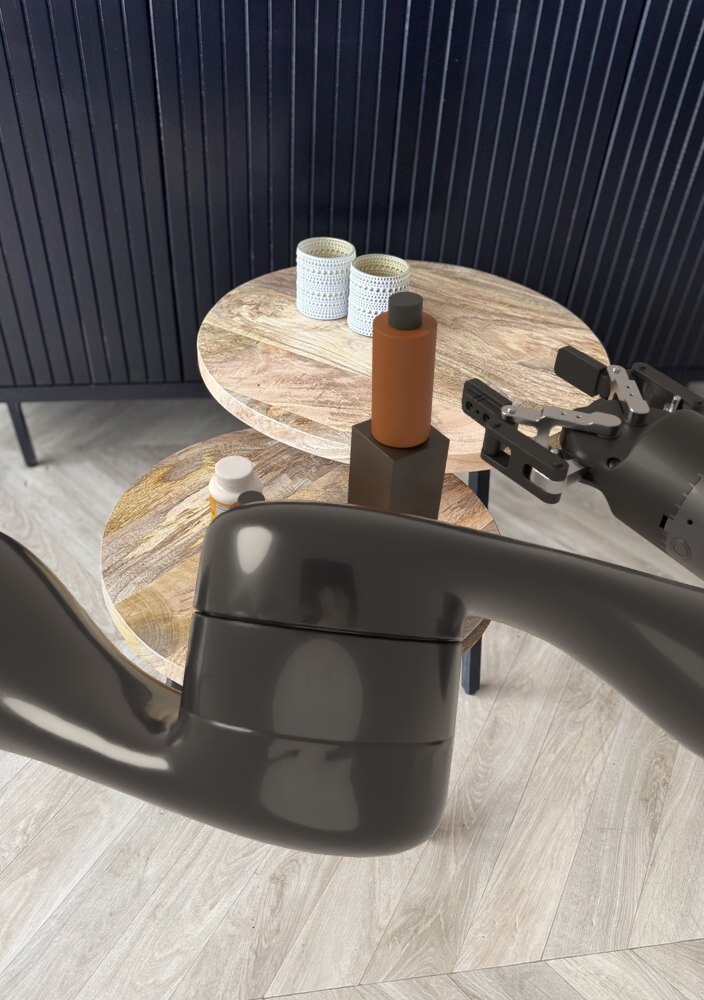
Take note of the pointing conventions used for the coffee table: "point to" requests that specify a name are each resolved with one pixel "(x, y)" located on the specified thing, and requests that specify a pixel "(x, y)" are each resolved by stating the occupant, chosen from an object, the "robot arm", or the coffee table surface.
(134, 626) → the coffee table surface
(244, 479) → the supplement bottle
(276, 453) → the coffee table surface
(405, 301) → the amber bottle
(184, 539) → the coffee table surface
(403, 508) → the pedestal
